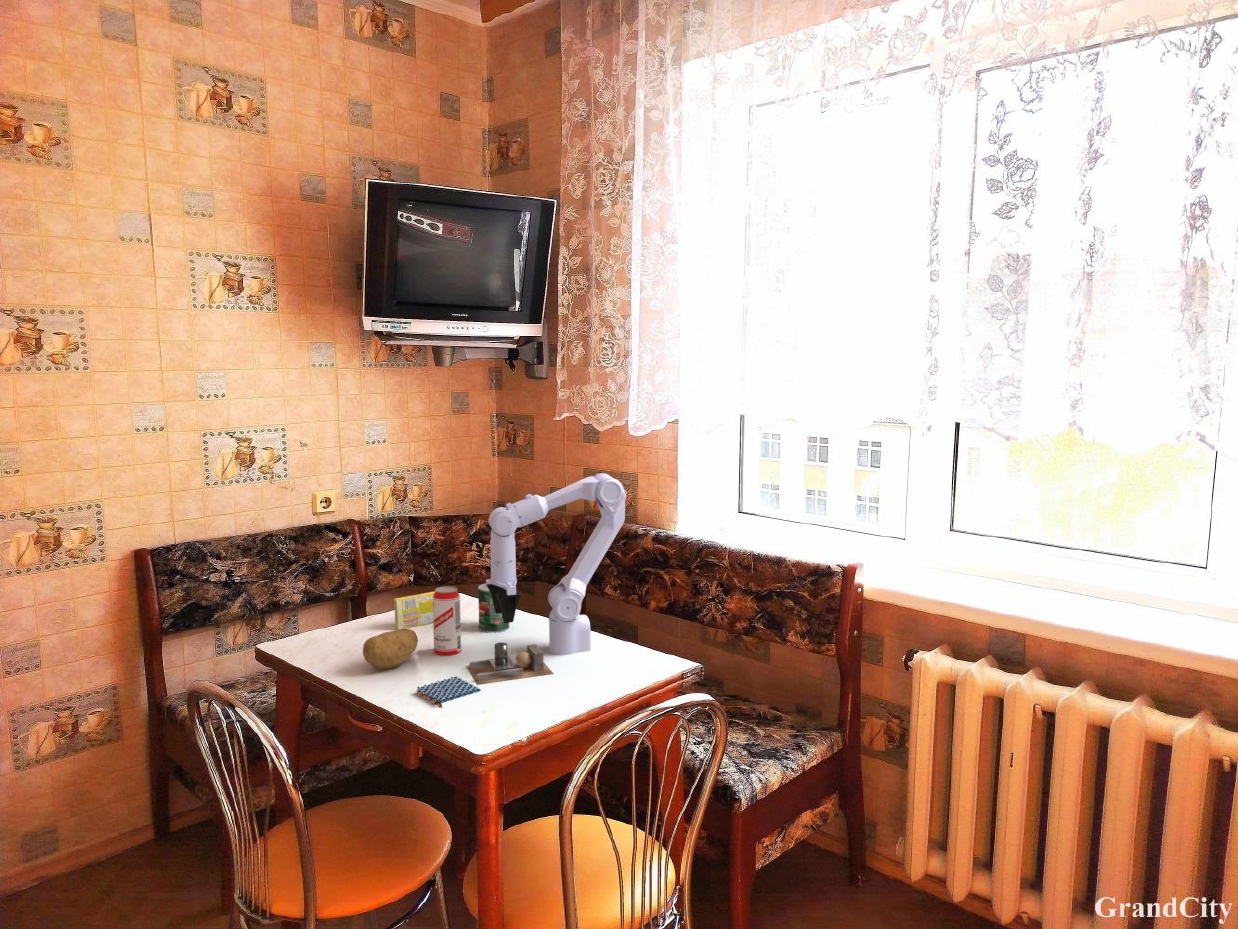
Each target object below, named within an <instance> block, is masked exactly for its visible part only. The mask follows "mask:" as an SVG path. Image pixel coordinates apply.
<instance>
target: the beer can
mask: <svg viewBox="0 0 1238 929" xmlns="http://www.w3.org/2000/svg"><path fill="white" fill-rule="evenodd" d="M434 591H435V593H434V595H433V624H432V625H433V651H434V652H433V653H434V654H435V655H437V656H440V657H448V656H449V657H450V656H456V655H458V654H460V653H461V652H462V634H461V633H462V631H461V630H462V629H461V596H460V593H459V592H458V588H457V587H456V586H451V585H448V586H445V585H444V586H440V587H437V588H434Z"/></svg>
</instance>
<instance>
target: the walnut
mask: <svg viewBox="0 0 1238 929" xmlns="http://www.w3.org/2000/svg"><path fill="white" fill-rule="evenodd" d="M514 658H515V659H516V660H517V666H518V667H519V668H527V667H528V666H529V665H530V663H531V656H530V655H529V654H528V653H527V652H526V651H521V652H519V653H517V654H516V656H515V657H514Z"/></svg>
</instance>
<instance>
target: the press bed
mask: <svg viewBox="0 0 1238 929" xmlns="http://www.w3.org/2000/svg"><path fill="white" fill-rule="evenodd" d="M526 647H527V648H526V650H527V653H528V654H529V655H530V656H531V663H530V665H529V666H528V667H527V668H519V667H518V666H517V669H510V670H502V671H495V672H493V671H492V670H491V668H490V667H489V660H494V659H495V658H490V659H488V658H487V659H481V660H474V661H469V662H468V664H469V665H465V667H466V669H467V670H468V672H469V674H470V675H471V677H472V679H473V680H474V682H475V684H476V685H477V686H479V685H480V686H481V685H486V684H494V683H501V682H508V681H513V680H514V681H515V680H516V681H517V680H521V679H523V680H524V679H527V678H528V679H529V678H535V677H536V678H537V677H544V676H550V675H554V674H555V673H554V672H553V671H552V670H551V669H550V667H549V666H548V665H547V664H546V662H544V652H543V651H542V649H541V648H540V647H539V646H538V645H537V644H535V643H534V644H528V645H527V646H526Z"/></svg>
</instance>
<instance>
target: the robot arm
mask: <svg viewBox="0 0 1238 929" xmlns="http://www.w3.org/2000/svg"><path fill="white" fill-rule="evenodd" d="M626 498H627V494H626V491H625V488H624V486H623V484H622V483H621V482H620V480H618V479H616V478H613V477H612V476H611V475H609V474H608V473H606V472H605V473H604V472H602V473H597V474H595V475H594V476H593V475H592V476H587V477H585V478H582V479H580V480H577V481H575V482H574V483H571V484H569V485H567V486H565V487H563V488H560V489H558V490H556V491H554V492H552V493H550V494H547V495H545V496H540V495H538V494H534V495H532V494H531V493H529V494H526V495H525V498H524V499H521V500H519V501H516V502H514V503H510V502H508V503H506V504H505V506H506V507H502V506H500V507H497V508H495V509H493V510H492V511H491V512H490V514H489V516H488V519H487V521H488V525H489V527H490V528H491V530H490V538H491V539H490V541H489V542H490V544H489V545H490V550H489V551H490V578H487V579H485V584H486V583H487V584H486V585H487V587H488V589H489V591H490V594H491V597H492V600H493V605H494V610H495V613H496V614H498V613H502V618H503V622H504V623H509V624H510V623H513V622H514V620H515V616H516V611H517V606H518V604H519V601H520V599H521V598H522V592H521V591H517V586H516V585H517V582H518V578H517V562H516V560H517V558H516V554H517V553H516V550H517V549H516V538H515V532H516V530H517V529H518V528H522V527H525V526H528V525H530V524H532V523H535V522H538V521H539V520H542V519H544V518H546V516H547V514H548V512H549V511H550V510H553V509H556V508H558V507H561V506H564V505H566V504H569V503H572V502H576V501H578V500H581V499H582V500H586V501H591V502H595V501H596V503H597V506H598V509H599V512H600V515H601V517H600V520H599V521H598V523H597V524H596V527H595V528H594V529H593V531H592V533H591V534H590V536H589V538H588V540H587V541H586V543H585V544H584V546H583V548H582V549H581V551H580V553H579V555H578V556H577V558H576V559H575V562H574V563H573V565H572V567H571V568H570V570H569V572H568V574H566V575H564V576H563V577H562V578H561V579H560V581H559V582H558V584H556V585H555V586H553V587H552V588H551V589H550V591H549V593H548V594H547V595H548V596H547V601H548V603H549V605H550V607H551V608H552V609H551V611H550V612H549V615H548V629H549V630H548V631H549V632H548V634H549V635H548V636H549V638H548V639H549V640H548V642H549V643H548V644H549V645H548V646H549V650H548V651H549V652H550V653H551V654H554V655H559V656H568V655H569V656H570V655H573V654H578V653H583V652H584V653H585V652H591V647H592V646H591V642H592V641H591V640H592V639H591V622H590V619H589V616H587V615H586V614H581V609H582V603H583V599H584V598H585V596H586V592H587V591H586V590H587V586H588V583H589V582H590V581H591V579H592V577H593V575H594V573H595V572H596V571H597V569H598V567H599V565H600V564H601V562H602V560H603V558H604V557H605V555H606V553H607V552H608V550H609V549H610V547H611V545H612V543H613V541H614V540H615V538H616V536H617V534H618V533H619V531H620V530H621V528H622V527H623V524H624V523H625V521H626V517H625V516H626Z"/></svg>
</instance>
